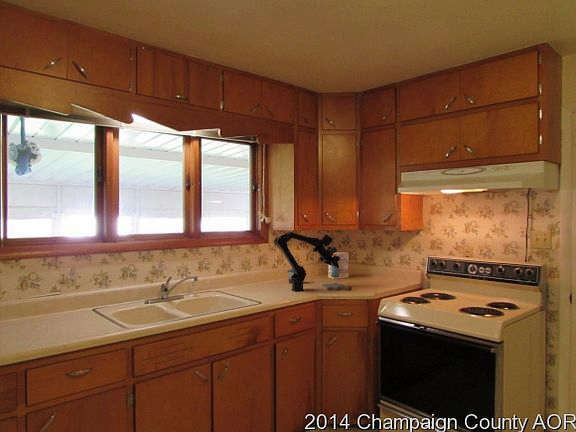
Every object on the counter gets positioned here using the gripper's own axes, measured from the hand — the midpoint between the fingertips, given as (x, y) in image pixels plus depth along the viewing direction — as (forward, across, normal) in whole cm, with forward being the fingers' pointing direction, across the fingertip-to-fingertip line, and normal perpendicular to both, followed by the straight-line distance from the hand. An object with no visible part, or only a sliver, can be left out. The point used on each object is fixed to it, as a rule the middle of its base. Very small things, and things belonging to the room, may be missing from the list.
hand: (336, 267), depth 273 cm
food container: (-4, +24, +23) cm, 34 cm away
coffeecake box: (+25, +31, -6) cm, 40 cm away
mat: (+9, +1, +10) cm, 14 cm away
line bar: (+6, -11, +13) cm, 18 cm away
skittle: (+4, 0, +6) cm, 7 cm away
